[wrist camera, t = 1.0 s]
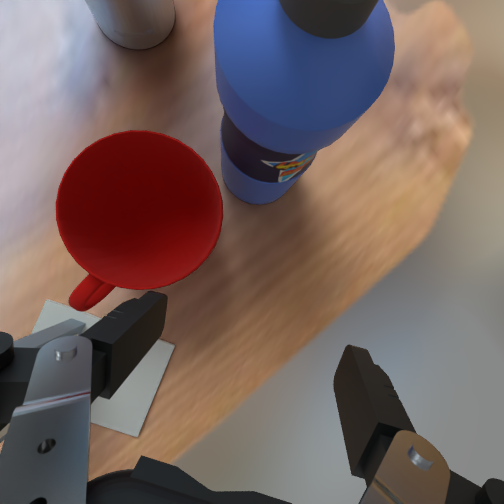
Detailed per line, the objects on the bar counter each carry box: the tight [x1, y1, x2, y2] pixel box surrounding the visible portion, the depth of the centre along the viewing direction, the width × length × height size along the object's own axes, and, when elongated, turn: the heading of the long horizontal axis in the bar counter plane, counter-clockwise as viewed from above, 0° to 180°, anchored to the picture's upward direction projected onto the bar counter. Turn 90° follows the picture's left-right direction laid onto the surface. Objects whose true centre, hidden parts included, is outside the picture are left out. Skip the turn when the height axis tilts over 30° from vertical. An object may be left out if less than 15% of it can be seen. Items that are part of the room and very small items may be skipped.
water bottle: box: [214, 0, 395, 205], centre depth 19 cm, size 9×9×25 cm
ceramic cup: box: [56, 130, 223, 312], centre depth 25 cm, size 13×17×10 cm
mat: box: [31, 299, 175, 437], centre depth 29 cm, size 15×11×1 cm
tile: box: [0, 318, 85, 443], centre depth 22 cm, size 2×9×12 cm, turn 158°
